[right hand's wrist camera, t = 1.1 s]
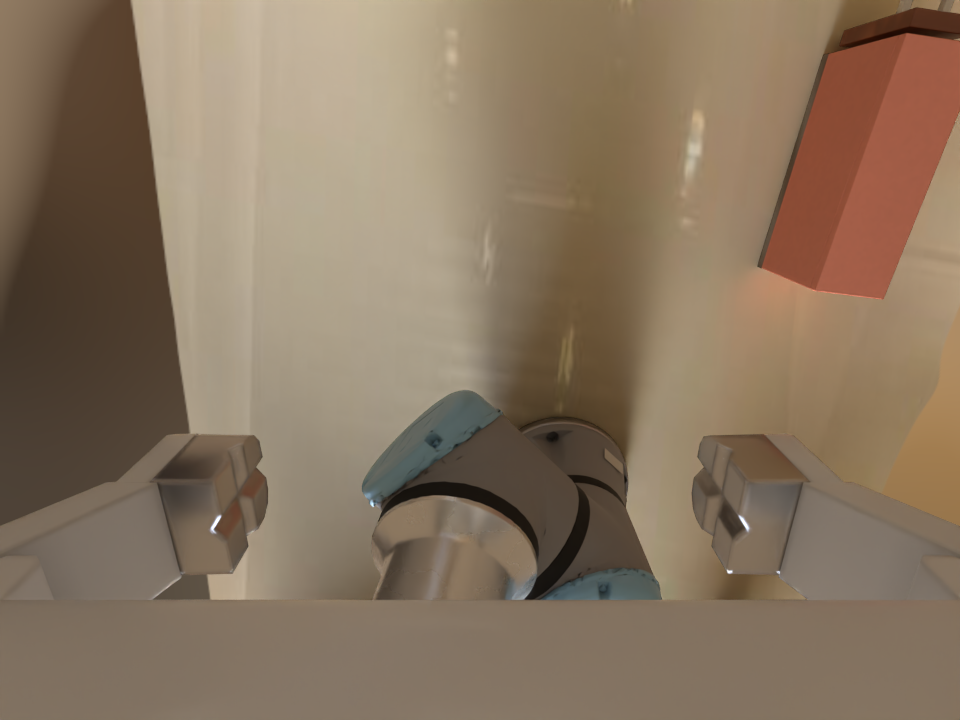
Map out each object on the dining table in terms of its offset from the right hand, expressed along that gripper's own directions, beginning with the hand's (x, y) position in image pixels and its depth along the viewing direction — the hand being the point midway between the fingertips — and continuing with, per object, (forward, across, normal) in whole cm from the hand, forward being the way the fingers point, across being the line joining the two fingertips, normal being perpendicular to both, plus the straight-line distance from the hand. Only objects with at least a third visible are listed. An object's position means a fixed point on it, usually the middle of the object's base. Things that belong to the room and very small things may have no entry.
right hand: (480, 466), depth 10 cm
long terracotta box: (+45, -32, -3) cm, 55 cm away
